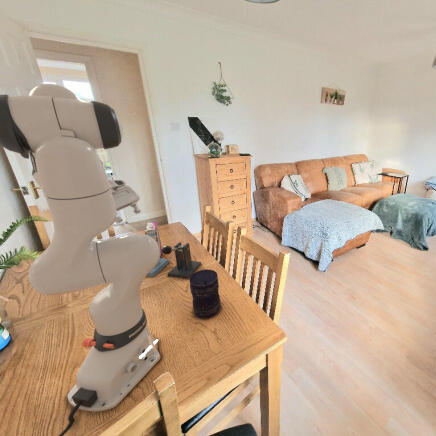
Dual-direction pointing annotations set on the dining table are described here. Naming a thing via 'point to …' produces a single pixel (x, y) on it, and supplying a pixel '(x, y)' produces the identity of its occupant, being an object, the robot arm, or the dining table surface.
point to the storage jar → (205, 293)
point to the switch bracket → (184, 263)
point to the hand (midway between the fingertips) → (130, 217)
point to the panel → (158, 267)
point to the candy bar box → (154, 233)
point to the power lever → (171, 249)
